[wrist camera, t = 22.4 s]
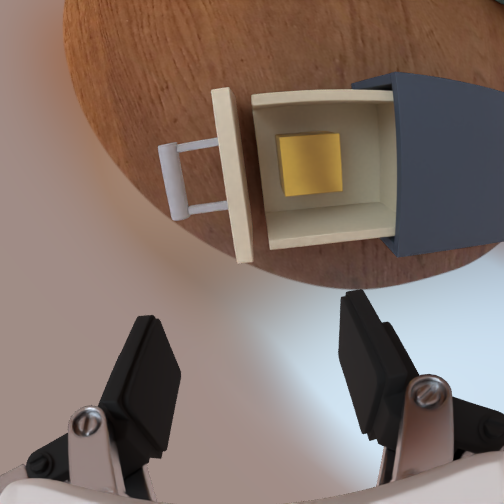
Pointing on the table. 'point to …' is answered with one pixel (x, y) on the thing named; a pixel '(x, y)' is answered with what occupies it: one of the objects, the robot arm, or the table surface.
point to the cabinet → (445, 163)
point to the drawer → (275, 203)
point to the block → (309, 162)
